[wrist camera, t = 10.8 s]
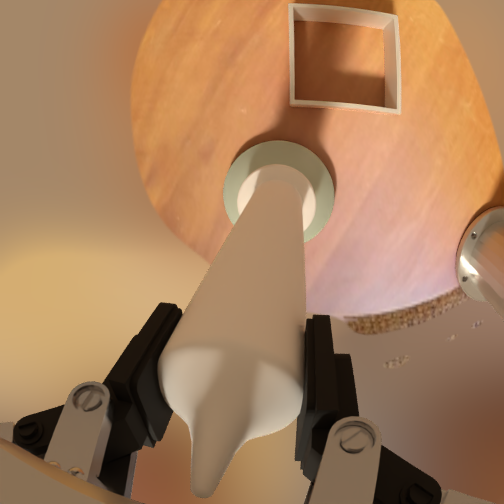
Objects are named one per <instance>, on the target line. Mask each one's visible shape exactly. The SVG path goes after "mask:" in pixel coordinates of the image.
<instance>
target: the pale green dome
mask: <svg viewBox="0 0 504 504" xmlns="http://www.w3.org/2000/svg"><path fill="white" fill-rule="evenodd" d="M272 164H281V165H286V166H289V167H292V168H294V169H296V170H298V171H299V172H301V173H302V174H303V175H304V176H305V177H306V178H307V179H308V180H309V182H310V183H311V185H312V187H313V189H314V192H315V196H316V212H315V215H314V218H313V220H312V222H311V224H310V225H309V227H308V228H307V229H306V230H305V231H304V243H305V242H307V241H309V240H311V239H312V238H313V237H315V236H316V235H317V234H318V233H319V232H320V231H321V230H322V229H323V228H324V226H325V225H326V223H327V222H328V220H329V218H330V215H331V213H332V210H333V205H334V187H333V182H332V179H331V176H330V174H329V172H328V170H327V168H326V167H325V165H324V164H323V162H322V161H321V160H320V159H319V158H318V156H317V155H315V154H314V153H313V152H312V151H310V150H309V149H307V148H306V147H304V146H302V145H300V144H297V143H294V142H290V141H284V140H273V141H267V142H263V143H260V144H257V145H255V146H253V147H251V148H249V149H248V150H246V151H245V152H243V153H242V154H241V155H240V156H239V157H238V158H237V159H236V160H235V161H234V163H233V164H232V165H231V167H230V169H229V171H228V173H227V176H226V178H225V182H224V188H223V199H224V205H225V209H226V212H227V214H228V217H229V219H230V220H231V222H232V224H233V225H235V223H236V222H237V220H238V218H239V217H240V215H239V212H238V207H237V198H238V193H239V189H240V187H241V185H242V183H243V182H244V180H245V179H246V178H247V177H248V176H249V175H250V174H251V173H252V172H253V171H255V170H256V169H258V168H260V167H263V166H266V165H272Z"/></svg>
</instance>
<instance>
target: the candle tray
mask: <svg viewBox="0 0 504 504" xmlns="http://www.w3.org/2000/svg"><path fill="white" fill-rule="evenodd" d="M288 7H289V51H290V107H310V108H326V109H339V110H350V111H360V112H369V113H377V114H385V115H399V114H401V56H400V38H399V25H398V15H393V14H388V13H383V12H377V11H371V10H365V9H358V8H350V7H342V6H332V5H319V4H299V3H288ZM294 21H317V22H330V23H341V24H350V25H358V26H365V27H372V28H378V29H383V42H384V67H385V108H384V107H377V106H369V105H360V104H351V103H340V102H328V101H312V100H295V64H294Z"/></svg>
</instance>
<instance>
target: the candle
mask: <svg viewBox="0 0 504 504" xmlns="http://www.w3.org/2000/svg"><path fill="white" fill-rule="evenodd" d="M237 207H238V212H239V215H240V217H239V218H238V220H237V222H236V223H235V225H234V227H233V228H232V230H231V232H230V233H229V235H228V237H227V239H226V240H225V242H224V244H223V245H222V247H221V249H220V251H219V252H218V254H217V256H216V257H215V259H214V261H213V263H212V264H211V266H210V268H209V269H208V271H207V273H206V275H205V277H204V278H203V280H202V282H201V283H200V285H199V287H198V289H197V291H196V292H195V294H194V296H193V298H192V299H191V301H190V303H189V305H188V306H187V308H186V310H185V312H184V313H183V315H182V317H181V319H180V321H179V322H178V324H177V326H176V328H175V330H174V331H173V333H172V335H171V337H170V339H169V340H168V342H167V344H166V346H165V348H164V350H163V351H162V353H161V355H160V357H159V360H158V366H157V373H158V380H159V386H160V390H161V393H162V396H163V398H164V400H165V401H166V403H167V404H168V405H169V407H170V408H171V409H172V410H173V411H174V412H175V413H176V414H177V415H179V416H180V417H181V418H182V419H183V420H184V421H185V422H186V423H187V425H188V427H189V431H190V435H191V440H192V454H191V492H192V493H193V494H194V495H195V496H197V497H200V498H208V497H210V496H211V495H212V494H213V492H214V491H215V489H216V487H217V486H218V484H219V482H220V480H221V478H222V477H223V475H224V473H225V471H226V469H227V468H228V466H229V464H230V462H231V460H232V458H233V456H234V455H235V453H236V452H237V451H238V450H239V449H240V448H241V446H242V445H243V444H244V443H245V442H246V441H247V440H250V439H253V438H256V437H260V436H265V435H268V434H271V433H274V432H277V431H279V430H281V429H283V428H284V427H286V426H288V425H289V424H290V423H291V422H292V421H293V420H294V419H295V418H297V416H298V415H299V414H300V410H301V406H302V400H303V393H304V380H305V328H306V283H305V254H304V231H305V230H306V229H307V228H308V227H309V225H310V224H311V222H312V220H313V218H314V215H315V212H316V196H315V192H314V189H313V187H312V185H311V183H310V182H309V180H308V179H307V178H306V177H305V176H304V175H303V174H302V173H301V172H299V171H298V170H296V169H294V168H292V167H289V166H286V165H281V164H272V165H266V166H263V167H260V168H258V169H256V170H255V171H253V172H252V173H251V174H250V175H249V176H248V177H247V178H246V179H245V180H244V182H243V183H242V185H241V187H240V189H239V193H238V198H237Z"/></svg>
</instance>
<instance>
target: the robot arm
mask: <svg viewBox="0 0 504 504" xmlns="http://www.w3.org/2000/svg"><path fill="white" fill-rule="evenodd" d="M455 269H456V277H457V280H458V283H459V285H460V287H461V288H462V290H463V291H464V292H465V293H466V295H467V296H469V297H470V298H471V299H474V300H477V301H488V302H489V303H490V305H491V306H492V307H493V308H494V310H495V311H496V312H497V313H498V315H499V316H500V317H501V319H502V320H503V321H504V206H497V207H493V208H490V209H488V210H486V211H484V212H483V213H482V214H480V215H479V216H478V217H477V218H476V219H475V220H474V221H473V222H472V223H471V224H470V226H469V227H468V229H467V230H466V232H465V234H464V236H463V238H462V240H461V242H460V245H459V248H458V251H457V256H456V266H455ZM182 315H183V314H182V310H181V309H180V308H178V307H177V305H176V304H171V303H162V302H161V303H159V305H158V306H157V307H156V309H155V310H154V312H153V313H152V315H151V316H150V317H149V319H148V320H147V322H146V323H145V325H144V326H143V328H142V329H141V331H140V332H139V334H138V335H135V336H134V337H133V338H132V340H131V341H130V343H129V345H128V346H127V347H126V349H125V350H124V352H123V353H122V355H121V356H120V358H119V359H118V361H117V362H116V364H115V365H114V367H113V368H112V370H111V371H110V373H109V374H108V376H107V377H106V379H105V380H104V382H103V383H102V384H101V383H99V382H95V381H94V382H85V383H82V384H80V385H78V386H76V387H75V388H74V389H73V390H72V391H71V393H70V394H69V396H68V398H67V401H66V403H65V405H61V406H58V407H55V408H52V409H49V410H45V411H42V412H39V413H36V414H32V415H28V416H26V417H23V418H22V419H20V420H19V421H18V422H17V423H16V425H15V424H14V422H7V423H0V504H144V503H141V502H138V501H135V500H132V499H131V492H132V485H133V478H134V472H135V466H136V460H137V454H138V450H140V449H142V446H143V445H145V446H148V447H152V448H154V446H155V443H156V441H161V439H162V438H163V435H164V433H165V430H166V428H167V425H168V423H169V421H170V418H171V416H172V413H173V410H172V409H171V408H170V407H169V405H168V404H167V403H166V401H165V400H164V398H163V396H162V393H161V390H160V386H159V380H158V373H157V366H158V360H159V357H160V355H161V353H162V351H163V350H164V348H165V346H166V344H167V342H168V340H169V339H170V337H171V335H172V333H173V331H174V330H175V328H176V326H177V324H178V322H179V321H180V319H181V317H182ZM381 442H382V438H381V432H380V430H379V428H378V427H377V426H376V425H375V424H374V423H373V422H372V421H370V420H368V419H366V418H362V417H359V411H358V403H357V396H356V388H355V382H354V375H353V368H352V362H351V357H350V354H334V349H333V340H332V332H331V323H330V316H329V315H313V318H312V319H307V320H306V328H305V380H304V393H303V400H302V406H301V410H300V414H299V415H298V416H297V431H296V448H295V461H301V469H302V470H303V475H304V476H305V477H307V478H308V479H309V480H310V481H311V483H310V486H309V489H308V492H307V495H306V498H305V501H304V504H495V503H493V502H489V501H486V500H482V499H479V498H475V497H472V496H469V495H466V494H463V493H460V492H457V491H454V490H451V489H449V490H448V491H445V490H442V489H441V487H440V486H439V484H438V482H437V481H436V480H435V479H433V478H432V477H430V476H429V475H427V474H425V473H424V472H422V471H421V470H419V469H418V468H416V467H414V466H413V465H411V464H410V463H408V462H407V461H405V460H404V459H402V458H401V457H399V456H397V455H396V454H395V453H393V452H392V451H390V450H388V449H387V448H386V447H384V446H382V445H381Z"/></svg>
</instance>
